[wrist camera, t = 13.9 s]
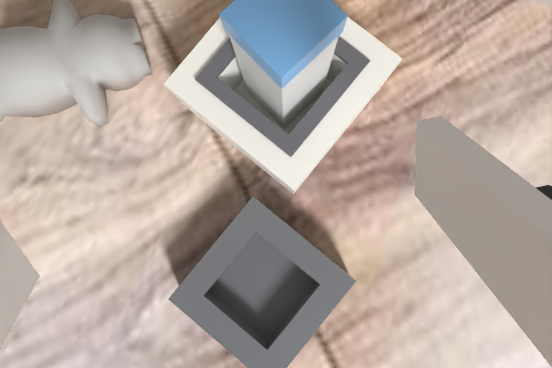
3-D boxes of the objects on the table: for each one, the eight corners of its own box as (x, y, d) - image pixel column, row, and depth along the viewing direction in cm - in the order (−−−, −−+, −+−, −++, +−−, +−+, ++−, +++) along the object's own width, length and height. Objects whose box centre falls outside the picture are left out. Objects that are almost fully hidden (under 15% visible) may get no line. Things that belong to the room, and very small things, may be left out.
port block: (183, 105, 30) (162, 82, 25) (273, -1, 31) (270, -46, 25) (293, 194, 29) (294, 190, 24) (382, 84, 30) (403, 56, 25)
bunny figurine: (152, 94, 26) (-80, 155, 25) (167, 115, 31) (-25, 167, 30) (116, -32, 27) (-112, 18, 25) (136, 9, 32) (-53, 53, 30)
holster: (180, 290, 29) (168, 299, 26) (256, 197, 29) (252, 196, 26) (272, 368, 29) (270, 387, 26) (348, 273, 29) (355, 281, 26)
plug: (245, 91, 29) (219, 14, 18) (285, 54, 30) (284, -47, 18) (283, 131, 29) (281, 78, 18) (323, 93, 29) (347, 16, 18)
